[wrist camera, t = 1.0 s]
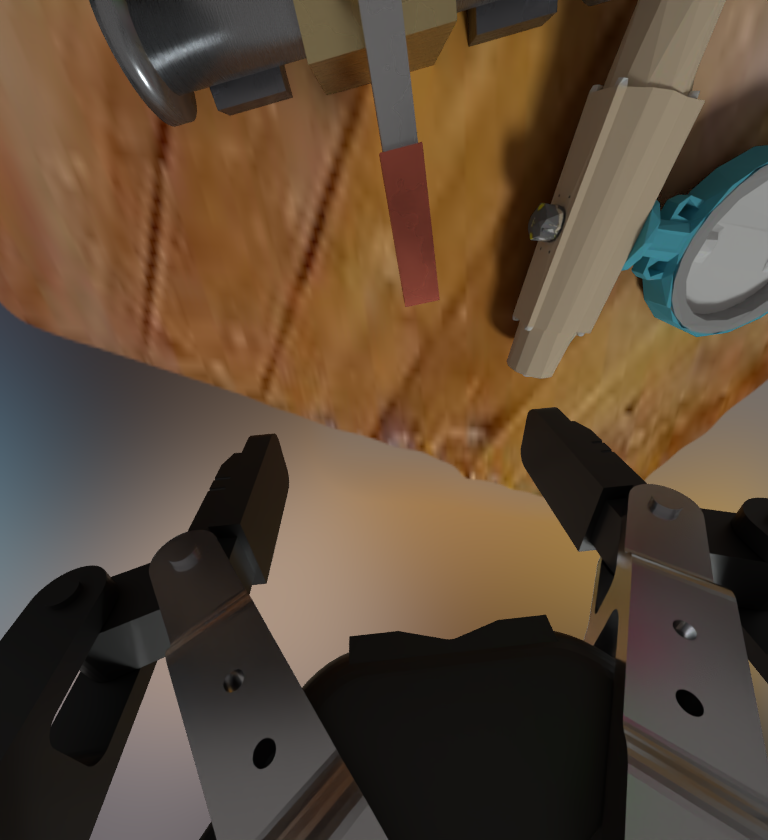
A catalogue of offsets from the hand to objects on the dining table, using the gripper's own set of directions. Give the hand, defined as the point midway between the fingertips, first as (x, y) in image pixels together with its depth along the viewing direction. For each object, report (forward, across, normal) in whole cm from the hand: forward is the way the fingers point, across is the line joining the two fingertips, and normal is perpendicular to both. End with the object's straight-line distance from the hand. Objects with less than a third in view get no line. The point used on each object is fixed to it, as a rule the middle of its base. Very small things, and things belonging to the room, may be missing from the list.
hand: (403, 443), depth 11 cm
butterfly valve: (+25, -28, -2) cm, 37 cm away
